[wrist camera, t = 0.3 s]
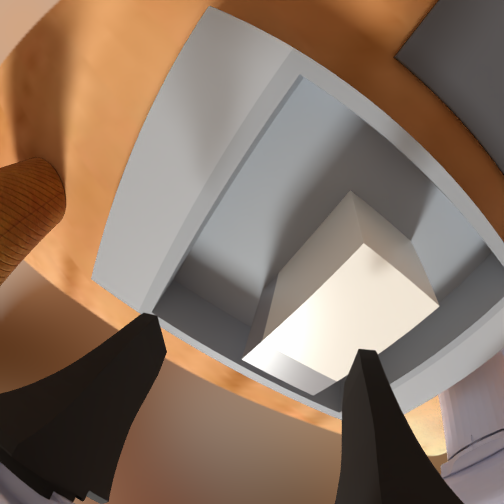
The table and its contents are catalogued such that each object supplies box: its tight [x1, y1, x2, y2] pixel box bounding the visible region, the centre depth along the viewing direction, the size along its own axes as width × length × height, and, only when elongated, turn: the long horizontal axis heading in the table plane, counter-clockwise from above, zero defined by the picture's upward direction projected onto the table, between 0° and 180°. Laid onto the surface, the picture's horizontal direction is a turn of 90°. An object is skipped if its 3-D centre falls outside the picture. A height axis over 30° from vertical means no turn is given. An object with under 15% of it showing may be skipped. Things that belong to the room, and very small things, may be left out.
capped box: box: [242, 190, 439, 396], centre depth 16 cm, size 5×9×6 cm, turn 148°
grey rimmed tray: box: [91, 6, 504, 420], centre depth 17 cm, size 26×18×4 cm
